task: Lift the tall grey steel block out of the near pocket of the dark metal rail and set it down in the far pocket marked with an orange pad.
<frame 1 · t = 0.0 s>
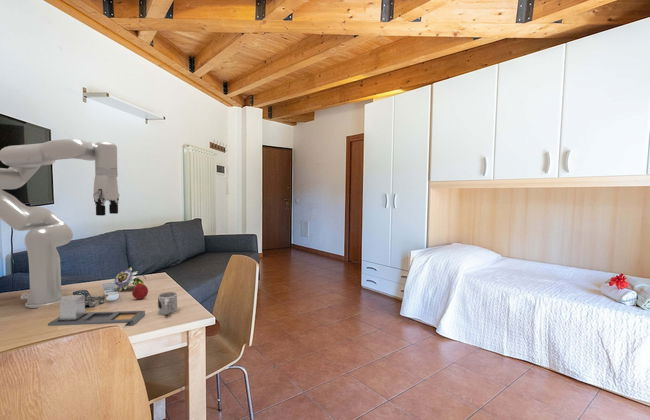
hand: (107, 214, 129), 37 cm above the table, tool pointing down, fingers open, 9 cm apart
egg carton: (91, 306, 127), on the table
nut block: (73, 319, 110), point 1 cm above the table, touching rail
onion: (140, 300, 133), on the table
mug: (167, 313, 121), on the table
rail: (99, 321, 112), on the table
passion flower: (129, 289, 148), on the table
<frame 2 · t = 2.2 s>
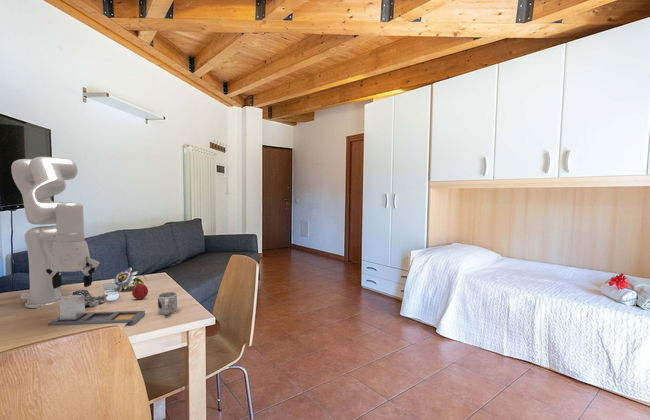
hand: (72, 286, 109), 13 cm above the table, tool pointing down, fingers open, 9 cm apart
nothing on the table moved.
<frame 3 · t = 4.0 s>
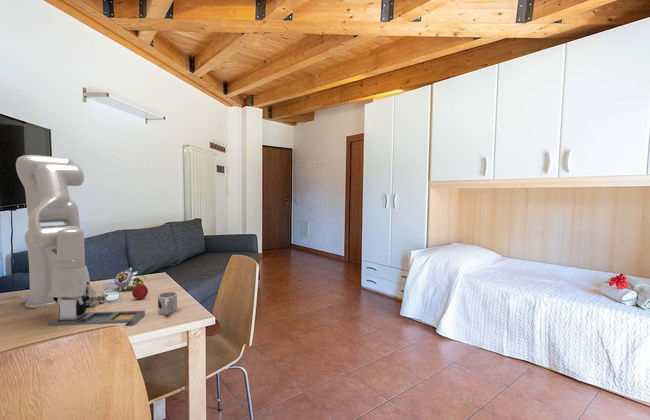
hand: (72, 313, 110), 3 cm above the table, tool pointing down, fingers closed on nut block, 5 cm apart
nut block: (73, 319, 110), point 1 cm above the table, touching gripper, rail
everything else where it was.
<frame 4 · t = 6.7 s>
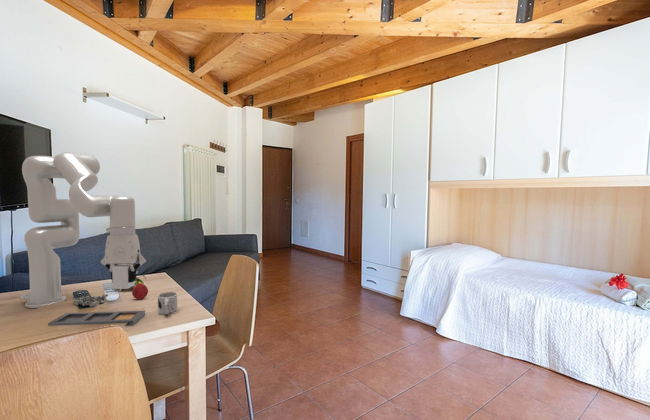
hand: (124, 281, 112), 15 cm above the table, tool pointing down, fingers closed on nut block, 5 cm apart
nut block: (124, 286, 112), point 13 cm above the table, touching gripper
everything else where it was.
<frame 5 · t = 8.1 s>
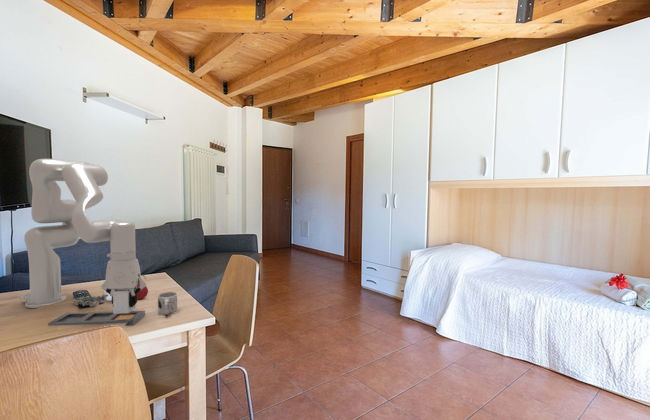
hand: (124, 305, 113), 6 cm above the table, tool pointing down, fingers closed on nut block, 5 cm apart
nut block: (124, 310, 113), point 4 cm above the table, touching gripper
everything else where it was.
when the fingers open (4 cm above the table, at t = 9.2 s): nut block drops 1 cm, resting on rail.
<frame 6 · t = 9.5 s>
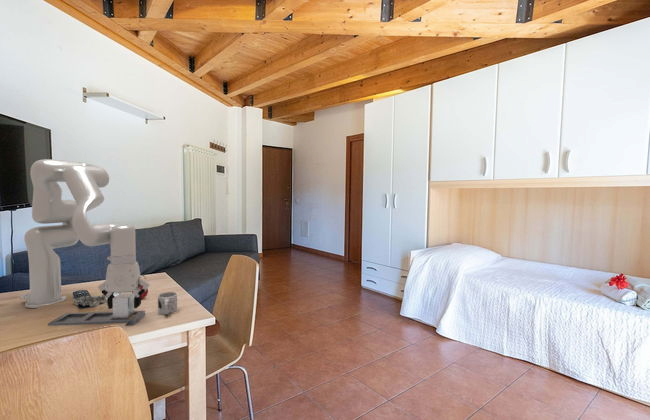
hand: (124, 307, 113), 5 cm above the table, tool pointing down, fingers open, 8 cm apart
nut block: (124, 317, 113), point 1 cm above the table, touching rail
everything else where it was.
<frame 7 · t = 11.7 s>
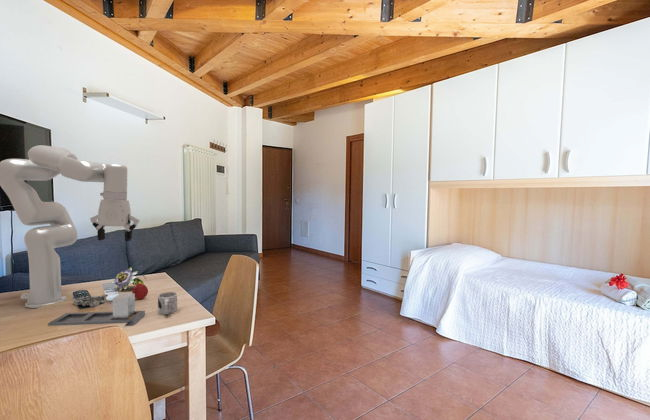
hand: (114, 240, 121), 27 cm above the table, tool pointing down, fingers open, 9 cm apart
nothing on the table moved.
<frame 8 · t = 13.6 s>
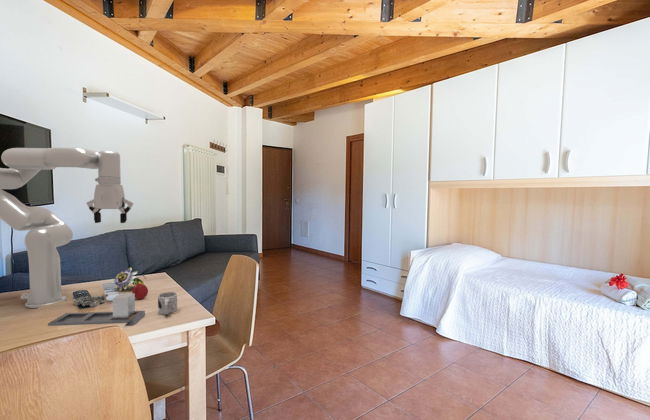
hand: (110, 222, 130), 33 cm above the table, tool pointing down, fingers open, 9 cm apart
nothing on the table moved.
at the end: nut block 0.2 cm from the target spot on the rail, point 1.1 cm above the rail's base; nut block tilted 0°; the gripper is holding nothing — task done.
